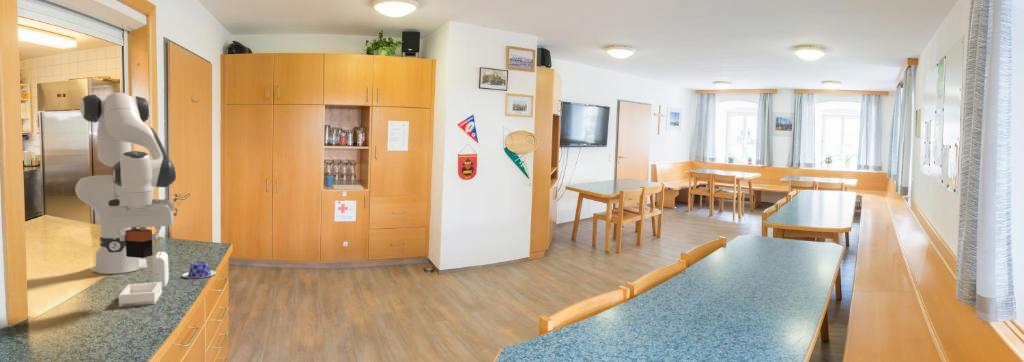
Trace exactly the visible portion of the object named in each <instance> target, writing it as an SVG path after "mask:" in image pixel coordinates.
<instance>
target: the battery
mask: <svg viewBox="0 0 1024 362" xmlns="http://www.w3.org/2000/svg"><path fill="white" fill-rule="evenodd" d="M152 234H153V231H152V229H147V227H132V228H131V230H126V231H125V235H126V256H127V257H136V258H143V259H146V258H148V257H151V256H153V240H152Z"/></svg>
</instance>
